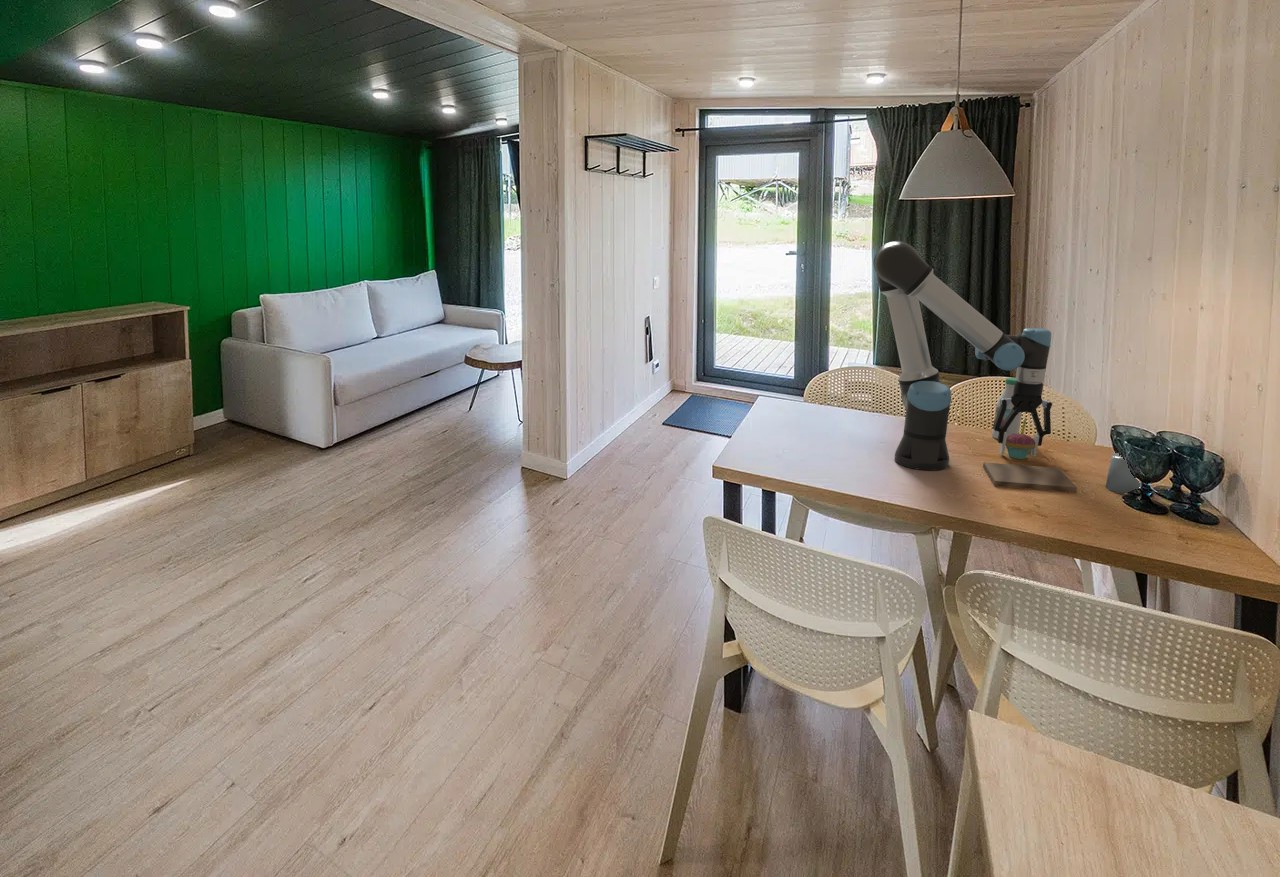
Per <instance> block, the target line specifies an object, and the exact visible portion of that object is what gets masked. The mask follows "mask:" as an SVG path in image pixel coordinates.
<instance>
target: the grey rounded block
mask: <svg viewBox="0 0 1280 877" xmlns="http://www.w3.org/2000/svg"><path fill="white" fill-rule="evenodd" d="M1119 453H1120V452H1116V453H1115V452H1114V453H1112V454H1111V457H1110V463H1109V467H1108V472H1107V478H1106V482H1105V489H1107V490H1108V491H1110V492H1114V493H1116V494H1120V495H1125V494H1124V493H1128V492H1130V491H1132V490H1135V489H1138V488H1139V487H1140V483H1139V481H1138V480H1137V479H1135V478H1134V476H1133V475H1132V474H1131V472H1130V469H1129V468H1128V464H1127V461H1126V460H1124V459H1123V457H1121V455H1120V456H1119Z"/></svg>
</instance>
